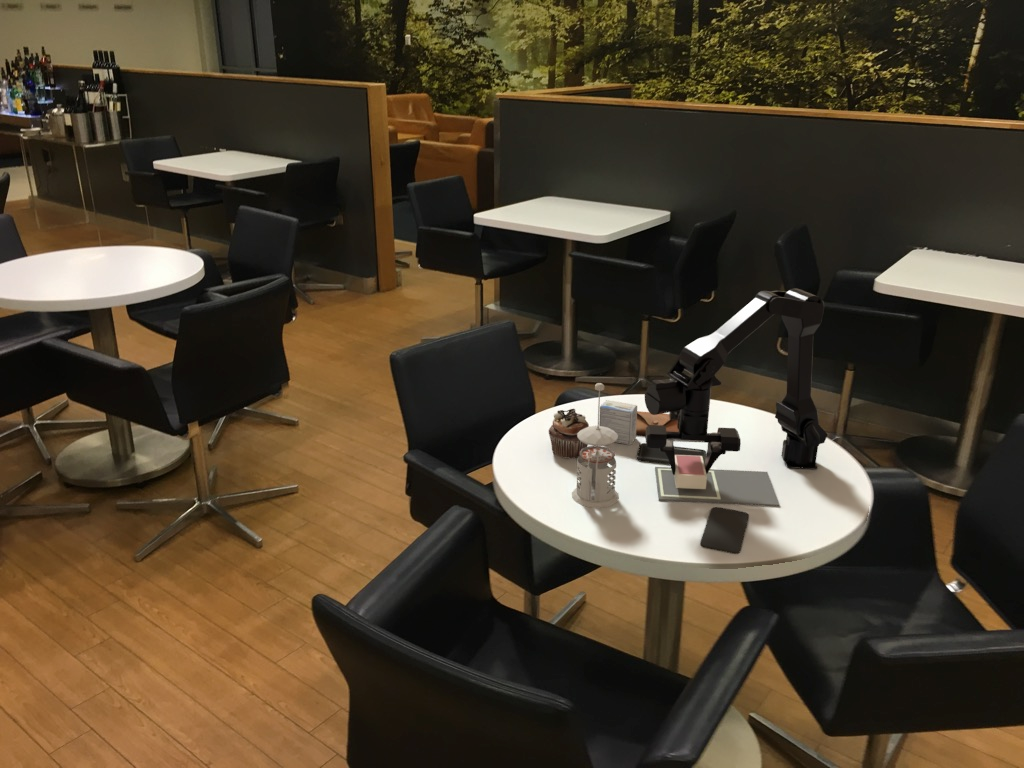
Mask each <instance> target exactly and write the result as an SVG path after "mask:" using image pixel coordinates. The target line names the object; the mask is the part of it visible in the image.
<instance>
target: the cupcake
mask: <svg viewBox="0 0 1024 768" xmlns="http://www.w3.org/2000/svg"><path fill="white" fill-rule="evenodd" d="M586 418H587V417H586V416H585V415H584V414H580V413H577V412H576V408H570V409H568V410H557V412H555V413H554V414H553V420H552V424H551V426H550V427H549V429H548V435H549V439H550V444H551V451H552V453H553V454H555V455H557V456H558V457H561V458H565V459H566V458H567V459H575V458H578V457H579V456H580V455H579V452H580V451H581V449H583V448H585V447H589V445H587V444H585V443H583V442H581V441H580V440H579V439H578V436H577V433H578V432H579V431H580V430H582V429H585V428H587V427H590V426H589V423H588V421H587V420H586Z"/></svg>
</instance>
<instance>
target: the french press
mask: <svg viewBox="0 0 1024 768" xmlns="http://www.w3.org/2000/svg"><path fill="white" fill-rule="evenodd" d="M594 390H595V391H598V402H597V403H598V406H597V407H598V409H597V410H598V411H597V425H591V426H589V427H587V428H585V429H582V430H580V431H579V432H578V433H577V436H578V439H579V440H580V441H581V442H583V443H585V444H587V445H588V446H587V447H585V448H583V449H581V451H580V452H579V455H580V456H579V457H577V459H576V460H577V462H576V464H577V466H576V467H577V468H576V487H575V488H574V489H573V491H572V492H571V499H572V500H573V501H574V502H576V503H577V504H579V505H582V506H584V507H588V508H592V509H593V508H595V509H597V508H598V509H599V508H600V509H601V508H607V507H611V506H613V505H615V504H616V503H617V502H618V501H619V499H620V496H619V492H618V491H617V490H616V486H615V485H616V481H615V480H616V473H617V472H616V468H617V460H616V458H615V454H616V453H615V452H614V451H613V450H612V449H611V448H609V447H606V446H609V445H611V444H614V443H616V442H615V441H616V440H617V438H618V435H617V433H616V432H615V431H613V430H611V429H610V428H608V427H602V426H599V419H600V406H601V405H600V401H601V391H604V390H605V385H604V384H603V383H601V382H597V383H596V384H595V386H594ZM585 463H587V464H585ZM582 464H585V465H582ZM608 464H609V465H610V466H609V465H608Z"/></svg>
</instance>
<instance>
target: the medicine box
mask: <svg viewBox="0 0 1024 768" xmlns="http://www.w3.org/2000/svg"><path fill="white" fill-rule="evenodd" d="M637 411H638V405H637V404H633V403H627V402H622V401H615V400H610V399H605V401H603V403H602V404H601V405H600V406H599V426H602V427H608V428H610V429H611V430H613V431H615V432H616V433H617V435H618V438H617V440H616V441H615V442H614V443H619V444H624V445H629V446H630V445H633V443H634V441H635V440H636V438H637V435H636V424H637Z"/></svg>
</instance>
